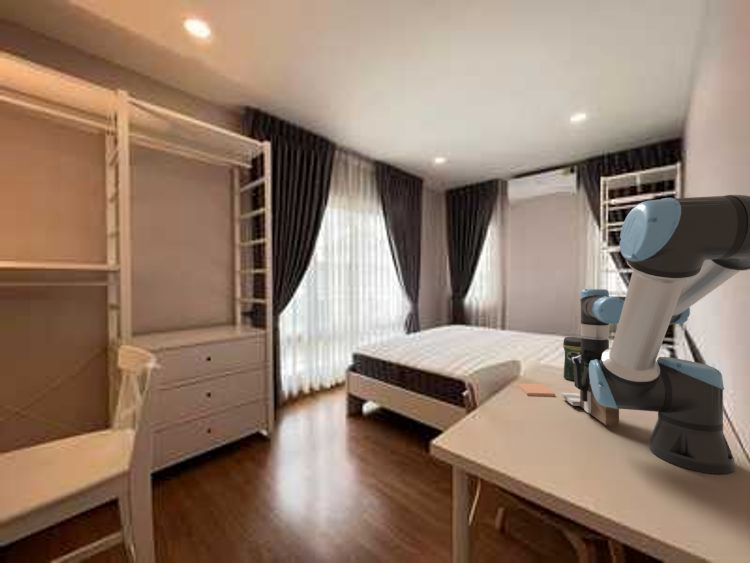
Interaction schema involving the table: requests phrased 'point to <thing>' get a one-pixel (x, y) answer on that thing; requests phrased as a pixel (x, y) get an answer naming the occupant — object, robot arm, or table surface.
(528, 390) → the tile
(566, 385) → the table surface
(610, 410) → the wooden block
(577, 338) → the coffee jar
